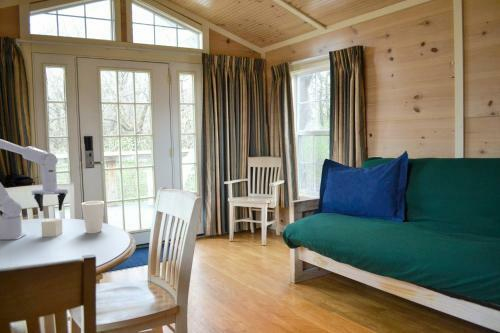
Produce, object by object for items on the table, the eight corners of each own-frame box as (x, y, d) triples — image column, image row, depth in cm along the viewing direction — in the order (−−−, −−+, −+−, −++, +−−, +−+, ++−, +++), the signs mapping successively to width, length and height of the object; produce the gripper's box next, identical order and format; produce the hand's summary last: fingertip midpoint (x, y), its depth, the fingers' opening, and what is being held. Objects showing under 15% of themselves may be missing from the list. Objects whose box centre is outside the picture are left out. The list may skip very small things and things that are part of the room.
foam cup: (97, 234, 179) (96, 204, 178) (78, 233, 181) (77, 204, 179) (109, 229, 188) (108, 201, 187) (90, 228, 190) (89, 200, 189)
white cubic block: (42, 236, 176) (41, 222, 175) (48, 233, 182) (48, 218, 181) (56, 236, 176) (55, 221, 175) (62, 233, 182) (61, 218, 181)
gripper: (28, 181, 178) (30, 213, 179) (64, 180, 180) (66, 211, 182) (34, 179, 184) (35, 209, 186) (68, 178, 187) (69, 208, 188)
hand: (51, 210), depth 184 cm, fingers open, 7 cm apart
